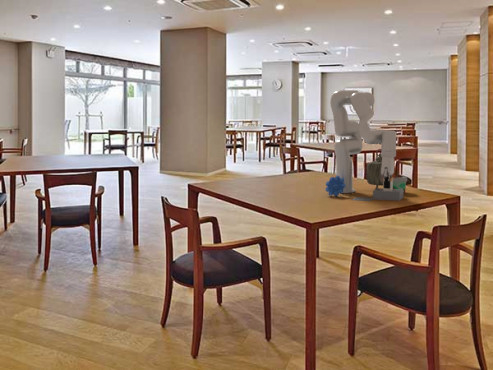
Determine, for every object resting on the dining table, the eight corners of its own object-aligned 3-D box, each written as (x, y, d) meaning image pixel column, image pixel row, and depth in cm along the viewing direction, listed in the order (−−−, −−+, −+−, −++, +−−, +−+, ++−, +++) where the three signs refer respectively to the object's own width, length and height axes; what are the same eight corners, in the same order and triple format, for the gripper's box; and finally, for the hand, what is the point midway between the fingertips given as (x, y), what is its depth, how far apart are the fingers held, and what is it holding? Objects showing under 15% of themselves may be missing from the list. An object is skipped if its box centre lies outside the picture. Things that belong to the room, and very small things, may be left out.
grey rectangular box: (372, 200, 264) (372, 190, 263) (377, 197, 273) (377, 188, 272) (399, 201, 257) (399, 192, 257) (403, 198, 266) (403, 189, 265)
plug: (382, 197, 264) (383, 178, 263) (384, 196, 268) (385, 177, 267) (391, 197, 262) (391, 178, 261) (392, 196, 266) (393, 177, 264)
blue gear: (347, 195, 282) (347, 174, 281) (344, 197, 276) (344, 176, 274) (327, 194, 287) (326, 174, 285) (324, 196, 280) (324, 175, 279)
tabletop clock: (378, 192, 288) (378, 150, 284) (365, 191, 295) (365, 149, 291) (392, 189, 297) (392, 148, 294) (379, 188, 304) (380, 147, 300)
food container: (399, 196, 273) (399, 178, 272) (389, 195, 278) (389, 177, 276) (411, 193, 281) (411, 176, 279) (402, 192, 285) (402, 175, 284)
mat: (351, 201, 264) (351, 199, 264) (356, 197, 272) (356, 196, 272) (369, 202, 259) (369, 200, 259) (374, 198, 268) (374, 197, 268)
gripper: (385, 152, 271) (384, 185, 273) (377, 155, 256) (377, 189, 259) (399, 152, 267) (398, 185, 270) (392, 155, 253) (391, 190, 255)
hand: (388, 187), depth 264 cm, fingers closed on plug, 4 cm apart
